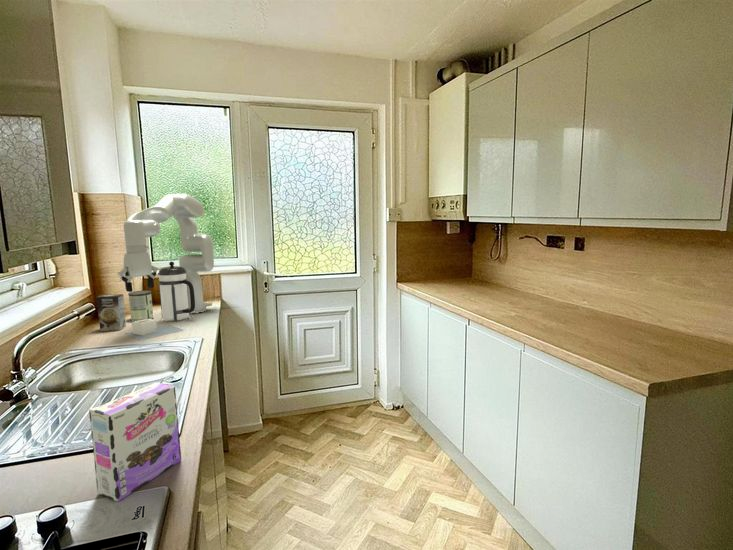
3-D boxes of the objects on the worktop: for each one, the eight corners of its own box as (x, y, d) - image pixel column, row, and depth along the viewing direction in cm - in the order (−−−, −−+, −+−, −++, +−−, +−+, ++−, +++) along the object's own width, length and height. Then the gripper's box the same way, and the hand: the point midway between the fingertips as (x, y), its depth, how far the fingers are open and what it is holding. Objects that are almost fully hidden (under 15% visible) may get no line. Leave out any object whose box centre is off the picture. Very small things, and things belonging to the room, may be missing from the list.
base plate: (170, 327, 188) (169, 324, 188) (185, 333, 178) (185, 330, 178) (125, 336, 174) (124, 333, 174) (138, 343, 164) (138, 340, 164)
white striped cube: (146, 329, 179) (145, 318, 178) (156, 331, 176) (155, 320, 176) (133, 333, 174) (131, 321, 173) (142, 335, 171) (141, 323, 170)
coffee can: (130, 318, 208) (127, 291, 206) (153, 315, 213) (150, 289, 211) (130, 322, 199) (128, 294, 197) (154, 319, 204) (151, 292, 202)
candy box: (117, 503, 71) (107, 415, 68) (96, 494, 73) (86, 409, 71) (182, 460, 83) (176, 384, 81) (163, 454, 85) (156, 380, 83)
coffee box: (99, 331, 184) (95, 296, 182) (106, 327, 190) (102, 294, 188) (121, 330, 185) (117, 295, 183) (126, 326, 191) (123, 293, 189)
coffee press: (156, 327, 190) (151, 264, 186) (162, 319, 205) (157, 260, 201) (196, 323, 195) (191, 262, 191) (199, 316, 210) (194, 259, 206)
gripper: (149, 248, 179) (153, 285, 182) (110, 251, 164) (115, 292, 167) (160, 248, 176) (164, 286, 179) (121, 251, 161) (126, 293, 163)
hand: (140, 289), depth 173 cm, fingers open, 9 cm apart
